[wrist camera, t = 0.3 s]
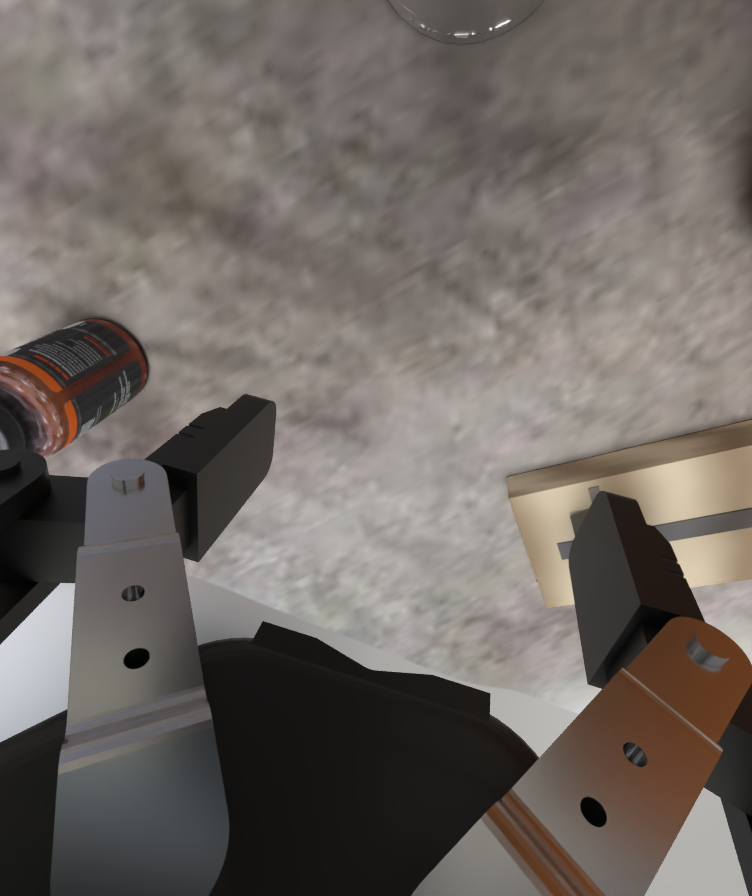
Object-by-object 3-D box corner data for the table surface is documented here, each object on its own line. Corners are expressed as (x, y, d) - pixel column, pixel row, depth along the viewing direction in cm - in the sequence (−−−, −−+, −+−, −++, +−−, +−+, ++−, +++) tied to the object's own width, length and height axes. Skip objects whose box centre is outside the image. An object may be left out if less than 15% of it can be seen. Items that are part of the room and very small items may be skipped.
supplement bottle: (63, 308, 33) (-107, 369, 24) (146, 325, 33) (8, 394, 23) (78, 389, 36) (-66, 472, 27) (155, 405, 36) (37, 496, 26)
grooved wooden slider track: (542, 582, 38) (546, 609, 36) (506, 477, 34) (508, 499, 31) (950, 517, 30) (988, 546, 28) (968, 368, 26) (1015, 388, 23)
